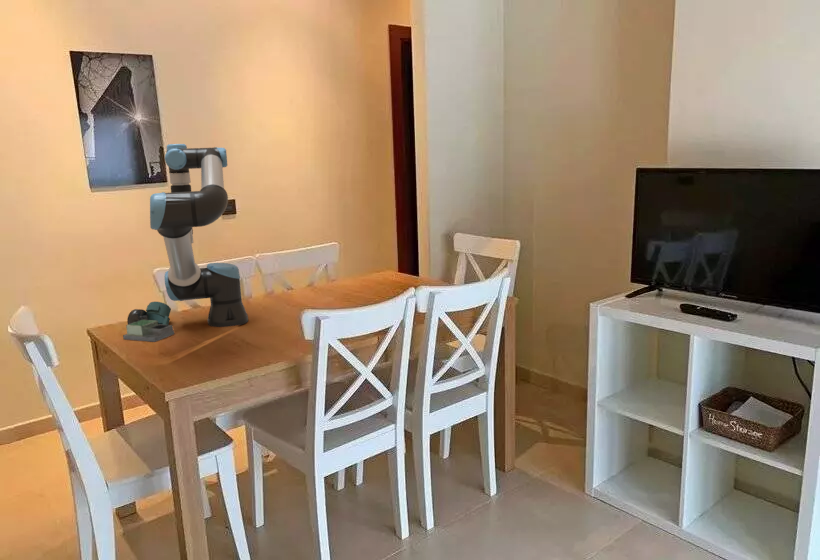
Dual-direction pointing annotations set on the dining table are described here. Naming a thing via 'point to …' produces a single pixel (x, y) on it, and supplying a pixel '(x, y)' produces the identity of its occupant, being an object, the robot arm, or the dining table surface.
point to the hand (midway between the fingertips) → (186, 243)
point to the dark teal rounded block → (159, 312)
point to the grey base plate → (147, 331)
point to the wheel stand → (137, 316)
